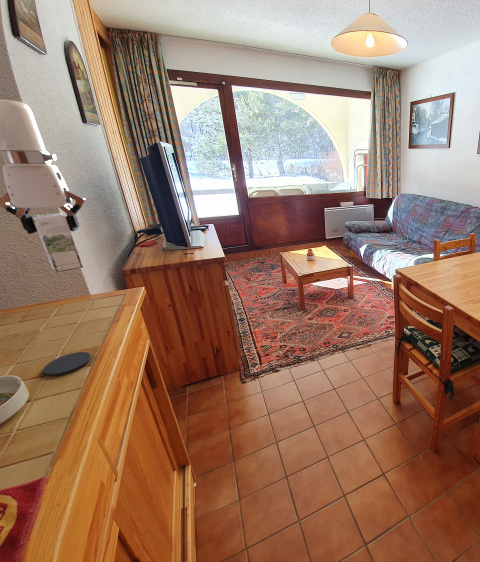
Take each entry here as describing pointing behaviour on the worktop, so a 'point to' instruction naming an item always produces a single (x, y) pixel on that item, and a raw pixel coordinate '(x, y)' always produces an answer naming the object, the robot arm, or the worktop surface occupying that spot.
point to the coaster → (67, 364)
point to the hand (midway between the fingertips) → (54, 231)
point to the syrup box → (57, 242)
